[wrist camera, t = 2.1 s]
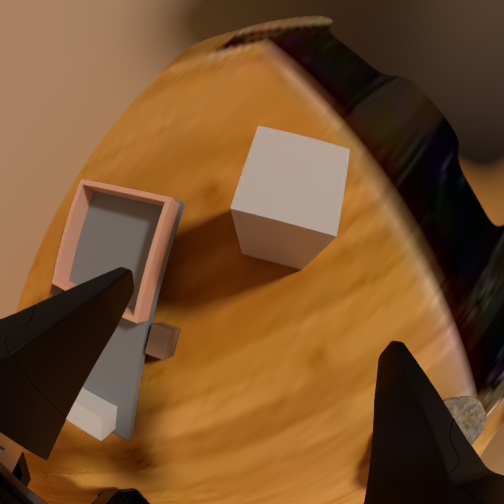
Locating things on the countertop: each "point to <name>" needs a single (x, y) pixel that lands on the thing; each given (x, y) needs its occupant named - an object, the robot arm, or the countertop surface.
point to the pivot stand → (151, 335)
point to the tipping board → (141, 304)
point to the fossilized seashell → (467, 415)
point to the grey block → (289, 197)
